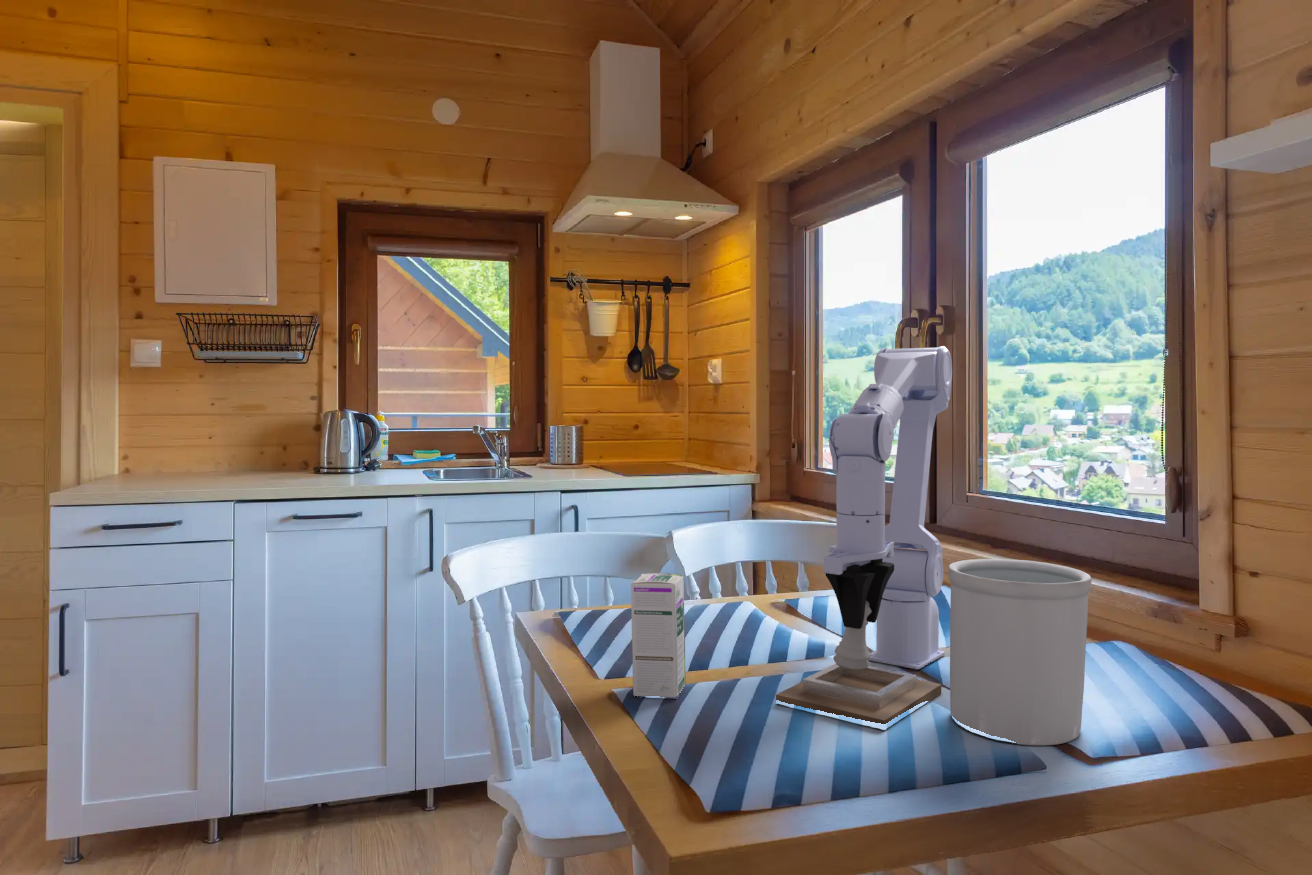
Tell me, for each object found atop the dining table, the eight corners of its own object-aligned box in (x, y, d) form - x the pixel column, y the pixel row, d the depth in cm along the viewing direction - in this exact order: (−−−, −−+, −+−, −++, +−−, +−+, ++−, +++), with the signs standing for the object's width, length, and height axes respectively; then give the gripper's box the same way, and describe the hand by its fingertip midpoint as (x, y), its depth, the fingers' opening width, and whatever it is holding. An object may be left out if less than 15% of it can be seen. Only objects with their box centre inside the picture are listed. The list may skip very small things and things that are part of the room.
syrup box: (678, 700, 110) (677, 582, 110) (631, 697, 111) (630, 580, 111) (686, 685, 116) (685, 573, 115) (641, 683, 117) (640, 571, 116)
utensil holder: (1033, 697, 111) (1034, 555, 110) (1119, 742, 96) (1122, 579, 95) (922, 706, 108) (924, 560, 107) (995, 754, 93) (997, 586, 92)
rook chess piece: (873, 663, 112) (881, 601, 111) (863, 674, 108) (872, 610, 107) (838, 654, 114) (846, 593, 113) (827, 664, 110) (835, 601, 109)
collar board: (839, 672, 121) (839, 652, 121) (941, 693, 112) (941, 672, 112) (775, 704, 109) (775, 682, 108) (884, 730, 100) (884, 706, 100)
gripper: (858, 504, 117) (857, 608, 118) (800, 516, 106) (800, 630, 107) (909, 508, 113) (909, 616, 113) (855, 521, 102) (855, 640, 102)
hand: (860, 624), depth 110 cm, fingers closed on rook chess piece, 3 cm apart
